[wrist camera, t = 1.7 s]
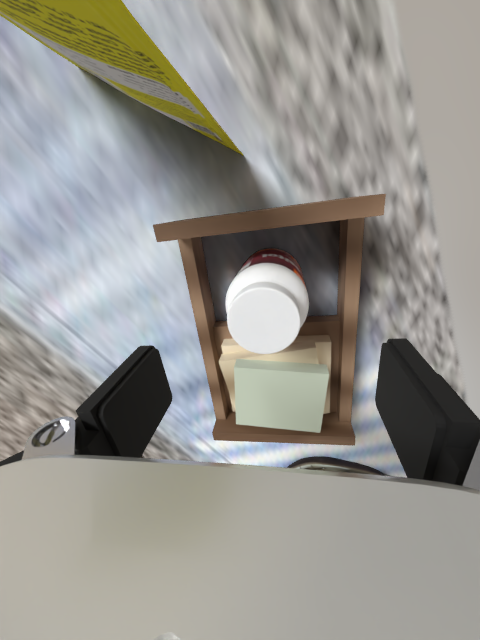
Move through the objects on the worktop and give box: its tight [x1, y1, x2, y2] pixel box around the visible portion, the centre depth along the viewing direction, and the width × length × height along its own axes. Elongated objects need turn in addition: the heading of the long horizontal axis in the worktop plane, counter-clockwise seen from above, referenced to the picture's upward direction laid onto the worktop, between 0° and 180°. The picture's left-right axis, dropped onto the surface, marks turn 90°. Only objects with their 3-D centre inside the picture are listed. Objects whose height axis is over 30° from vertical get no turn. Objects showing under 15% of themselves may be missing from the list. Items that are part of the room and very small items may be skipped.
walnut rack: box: [153, 194, 386, 445], centre depth 25 cm, size 24×16×7 cm, turn 7°
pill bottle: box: [225, 248, 309, 354], centre depth 21 cm, size 6×6×11 cm
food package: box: [0, 0, 243, 155], centre depth 12 cm, size 15×1×20 cm, turn 65°
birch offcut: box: [221, 335, 331, 413], centre depth 28 cm, size 9×11×2 cm
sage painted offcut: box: [234, 359, 329, 433], centre depth 25 cm, size 7×9×2 cm
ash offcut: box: [219, 340, 327, 414], centre depth 27 cm, size 8×10×2 cm
